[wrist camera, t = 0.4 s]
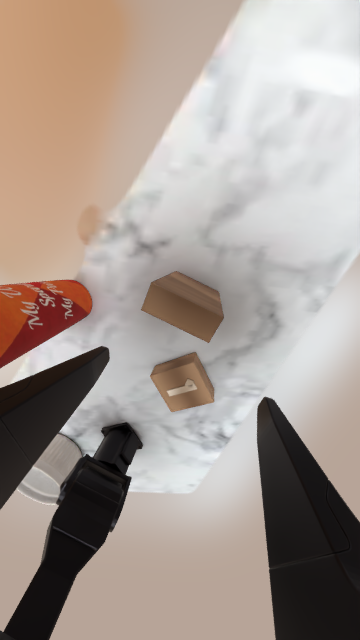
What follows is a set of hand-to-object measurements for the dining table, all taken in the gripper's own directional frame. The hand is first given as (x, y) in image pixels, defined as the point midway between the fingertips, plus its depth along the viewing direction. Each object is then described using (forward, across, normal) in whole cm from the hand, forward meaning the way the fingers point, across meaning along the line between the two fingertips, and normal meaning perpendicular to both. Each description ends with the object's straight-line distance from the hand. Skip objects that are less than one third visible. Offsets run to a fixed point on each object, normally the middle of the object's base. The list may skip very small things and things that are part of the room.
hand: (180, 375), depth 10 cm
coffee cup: (+13, +19, +6) cm, 24 cm away
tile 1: (+13, 0, +14) cm, 19 cm away
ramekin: (+7, +24, +43) cm, 49 cm away
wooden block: (+15, +2, +1) cm, 15 cm away
